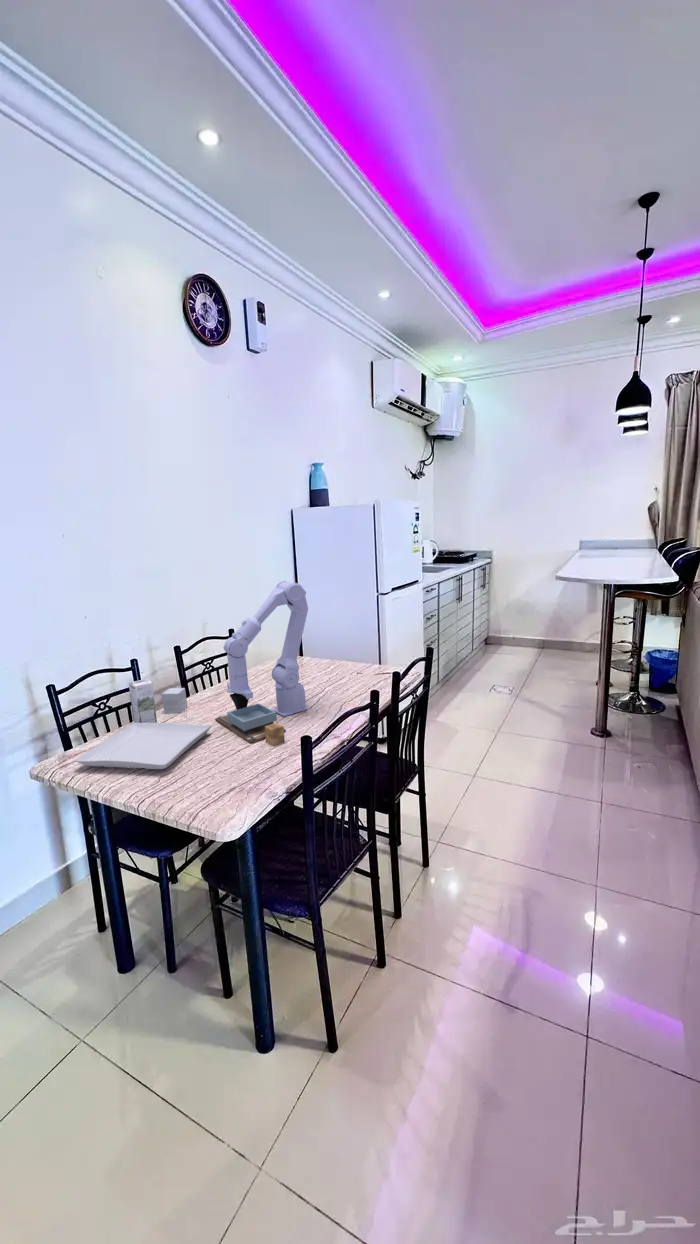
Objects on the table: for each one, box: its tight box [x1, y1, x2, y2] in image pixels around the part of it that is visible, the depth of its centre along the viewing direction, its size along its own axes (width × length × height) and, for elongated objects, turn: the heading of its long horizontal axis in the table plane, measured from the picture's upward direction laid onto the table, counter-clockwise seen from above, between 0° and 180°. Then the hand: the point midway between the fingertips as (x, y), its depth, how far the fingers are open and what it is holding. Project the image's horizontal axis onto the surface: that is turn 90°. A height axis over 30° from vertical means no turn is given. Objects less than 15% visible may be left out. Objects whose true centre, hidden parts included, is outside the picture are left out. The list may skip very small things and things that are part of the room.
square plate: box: [75, 722, 212, 770], centre depth 147 cm, size 27×27×4 cm
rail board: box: [214, 714, 287, 745], centre depth 162 cm, size 12×25×1 cm, turn 38°
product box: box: [161, 687, 188, 714], centre depth 179 cm, size 6×6×7 cm
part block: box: [265, 721, 286, 747], centre depth 149 cm, size 4×4×5 cm
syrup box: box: [128, 678, 158, 723], centre depth 168 cm, size 6×6×14 cm
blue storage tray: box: [226, 703, 278, 732], centre depth 159 cm, size 11×11×4 cm
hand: (242, 714), depth 165 cm, fingers closed
